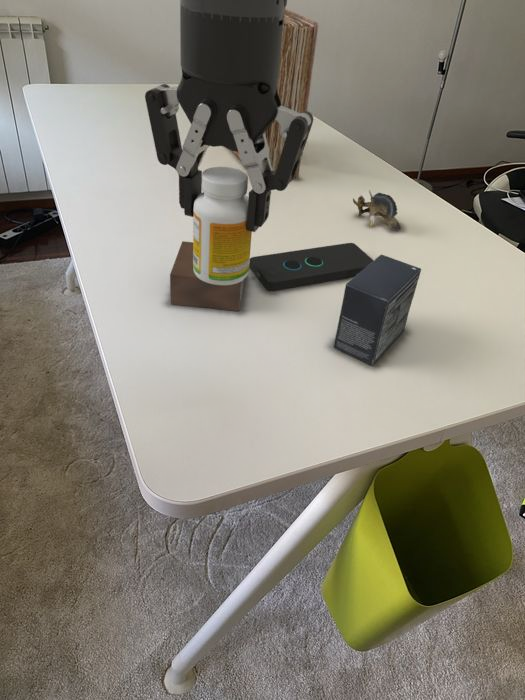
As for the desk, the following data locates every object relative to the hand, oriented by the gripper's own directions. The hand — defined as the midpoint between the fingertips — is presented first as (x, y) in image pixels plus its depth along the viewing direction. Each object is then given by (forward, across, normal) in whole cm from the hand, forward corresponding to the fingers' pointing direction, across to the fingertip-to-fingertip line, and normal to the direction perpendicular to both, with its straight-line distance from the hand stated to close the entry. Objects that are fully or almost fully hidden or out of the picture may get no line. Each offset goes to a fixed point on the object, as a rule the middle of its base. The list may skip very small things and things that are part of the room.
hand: (223, 219), depth 50 cm
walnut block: (+23, -10, +22) cm, 34 cm away
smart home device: (+24, +2, +36) cm, 43 cm away
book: (+24, -22, +78) cm, 85 cm away
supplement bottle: (+6, 0, 0) cm, 6 cm away
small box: (+24, +14, +21) cm, 35 cm away
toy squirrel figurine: (+24, +9, +59) cm, 64 cm away
